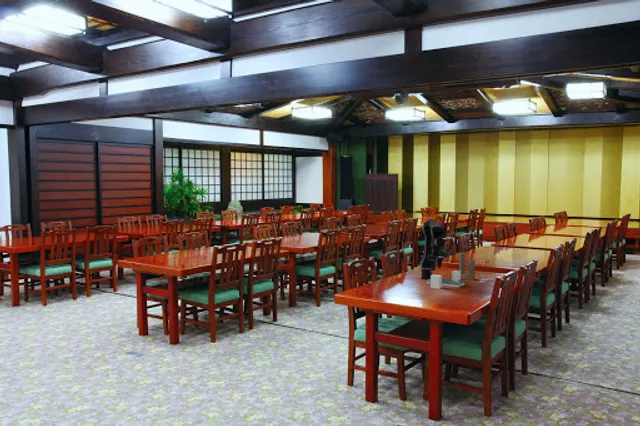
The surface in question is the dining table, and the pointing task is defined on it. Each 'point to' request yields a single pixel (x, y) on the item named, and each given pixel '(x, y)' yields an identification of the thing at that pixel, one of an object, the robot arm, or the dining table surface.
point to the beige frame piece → (469, 267)
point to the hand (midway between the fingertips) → (436, 269)
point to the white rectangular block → (436, 281)
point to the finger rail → (451, 280)
